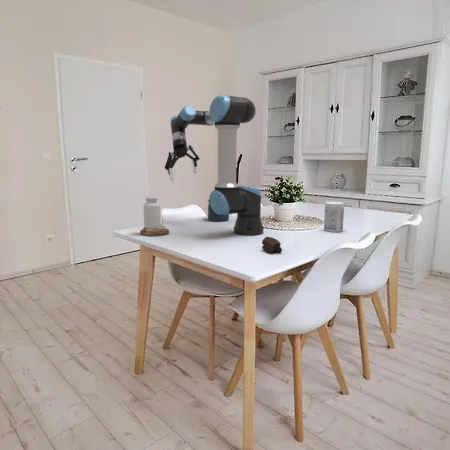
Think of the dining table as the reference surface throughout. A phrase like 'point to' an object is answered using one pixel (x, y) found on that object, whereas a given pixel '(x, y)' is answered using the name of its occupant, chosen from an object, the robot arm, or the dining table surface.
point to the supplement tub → (334, 216)
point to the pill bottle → (151, 213)
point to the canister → (216, 215)
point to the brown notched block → (271, 245)
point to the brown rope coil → (154, 231)
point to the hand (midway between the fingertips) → (183, 176)
